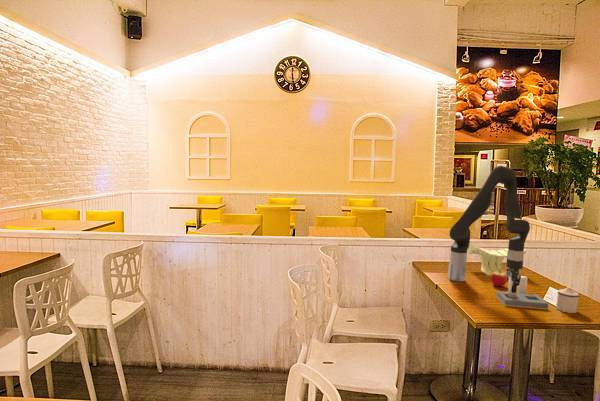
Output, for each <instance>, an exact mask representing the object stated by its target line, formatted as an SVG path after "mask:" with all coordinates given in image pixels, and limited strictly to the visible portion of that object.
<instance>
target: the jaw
mask: <svg viewBox="0 0 600 401" xmlns="http://www.w3.org/2000/svg"><path fill="white" fill-rule="evenodd" d="M515 283H516V282H515ZM507 286H508V287H507V291H506V292H507V294H508V296H509V297H512V298H516V296H517V290H518V288H517V289H516V293H512V292H511V288H512V281H511V277H510V276H509V282H508V284H507Z"/></svg>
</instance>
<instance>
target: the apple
mask: <svg viewBox="0 0 600 401" xmlns="http://www.w3.org/2000/svg"><path fill="white" fill-rule="evenodd" d="M500 270H501V269H500ZM490 280H491V283H492V284H493V286H495V287H504V286H505V284H507V281H508V280H507V276H506V274H504V273H500V272H494V273H492V275H491V276H490Z"/></svg>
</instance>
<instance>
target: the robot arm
mask: <svg viewBox="0 0 600 401" xmlns="http://www.w3.org/2000/svg"><path fill="white" fill-rule="evenodd" d="M498 184H501V185H504V188H505V190H506V195H505V196H504V197H505V198H504V204H503V205H504V209H505V212H506V225H505V226H506V228H505V229H506V230H507V232H508V233H510V234H515V235H517V236H515V237H510V238H509V239H508V247H507V249H508V253H507V258H506V265H505V266H506V267H507V268H506V273H507V281H508V283H509V276H510V277H511V281H512V288H511V292H512V293H516V289H517V290H518V286H519V283H520V279H521V276H522V275H521V274H520V270H521V269H523V268H524V259H525V258H524V257H525V254H524V249H525V243H526V240H527V237H528V234H529V232H530V229H531V225H530V222H529V221H528V220H527V219H526V220H525V219H518V218H520V217H521V216H522V214H523V211H522V207H521V204H520V201H519V196H518V186H517V176H516V171H515V170H514V169H513V168H511V167H507V166H505V165H501V164H500V165H497V166H495V167H494V168H492V171H491V172H490V174H489V176H488V177H487V178H486V180H485V182H484V184H483V185H482V187H481V188H480V190H479V192H478V193H477V194H476V196H474V198H473V199H472V200H471V202H470V203H469V205H468V207H467V208H466V210H465V211H464V212H463V214H462V215H461V216H460V217H459V218H458V220H457V221H456V222H455V223H454V224H453V225H452V227H451V228H450V230H449V237H450V238H451V240H452V241H454V242H453V244H452V245H451V246H450V256H449V261H448V272H447V278H448V280H449V281H454V282H458V283H459V282H465V280H466V271H467V260H468V259H467V256H468V248H469V243H471V229H470V227H471V226H472V224H473V223H475V222H476V221H478V220H479V219H480V218H481V217H482V216H483V215H484V214H485V213H486V212H487V211H488V209H489V208H490V207H491V204H492V202H493V201H492V200H493V192H494V190H495V188H496V186H497V185H498ZM515 282H516V283H515Z"/></svg>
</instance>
